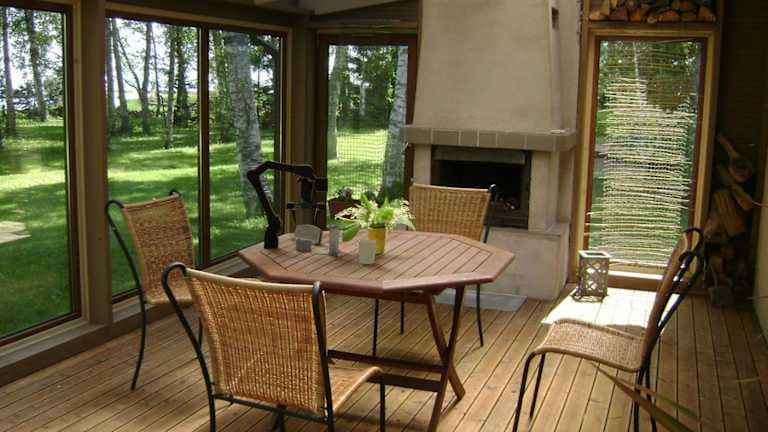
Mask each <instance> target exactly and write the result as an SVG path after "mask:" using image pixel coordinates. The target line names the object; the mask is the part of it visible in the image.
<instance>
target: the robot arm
mask: <svg viewBox="0 0 768 432" xmlns="http://www.w3.org/2000/svg"><path fill="white" fill-rule="evenodd" d="M267 170H273V171H274V170H275V171H280V172H286V173H292V174H295V175H298V176H299V177H298V178H297V179H296V182H297V183H299V184H300V185H299V187H300V189H299V203H295V202H294V201H286V202H285V209H286V210H288V211H289V212H291V215H292V217H293V221H294V224H296V223H297V218H296V208H301V209H303V210H305V209H307V210H311V209H315V213H314V219H313V223H314V225H316V223H317V219H318V217H319V215H320V213H321V212H322V213H323V212H324V211H326V210H327V208H326V203H325V202H317V201H316V200H317V199H316V198H315V197H314V198H313V190H315V192H316V193H318V192H319V193H321V192H322V193H328V191H329V185H328V182H329V179H328V177H317V176H316V175H315V173H314V169H313V166H312V165H310V164H304V163H303V164H292V163H285V162H280V161H275V160H270V159H266V160H265V161H264V162H263V163H260V164H259V165H257V166H256V167H251V168H250V169H248V171H247V173H246V179H247V180H248V182H249V183H250V185H251V186H252V187H253V188H254V190H255V193H256V196H257V197H258V199H259V201H260V204H261V206H262V209H263V210H264V213H265V215H266V220H267V226H266V227H265V229H264V234H263V249H278V247H279V240H280V239H279V236H278V232H280V231H281V229H282V224H283V220H282V219H281V217H280V216H281V215H280V213H277V214H276V213H275V211H274V209H273V207H272V204H271V203H270V200H269V198H268V196H267V193H266V191H265V189H264V186H263V181H262V177H261V176H262V174H263V173H265V172H267ZM309 179H310V180H309Z"/></svg>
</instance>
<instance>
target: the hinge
mask: <svg viewBox="0 0 768 432" xmlns="http://www.w3.org/2000/svg"><path fill="white" fill-rule="evenodd" d="M323 235H324V231H323V230H322V229H321V228H319V227H317V226H315V225H311V224H304V223H303V224H299V225H297V226H296V228H295V231H294V233H293V235H292V236H291V238H290V242H294V243H296V239H298V238H300V239H311V246H313V247H315V246H316V245H322V244H323V243H322V241H323V238H324V237H323Z"/></svg>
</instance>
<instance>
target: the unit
mask: <svg viewBox="0 0 768 432" xmlns="http://www.w3.org/2000/svg"><path fill="white" fill-rule="evenodd" d="M311 250H312V245H311V239H300V238H298V239H296V242H295V251H301V252H304V251H306V252H308V251H309V252H311Z"/></svg>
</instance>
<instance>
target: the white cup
mask: <svg viewBox="0 0 768 432" xmlns="http://www.w3.org/2000/svg"><path fill="white" fill-rule="evenodd" d="M376 248H377V241H376V240H374V239H368V238H367V239H366V238H365V239H364V238H363V239H359V240H358V263H359V264H362V265H374V264H375V259H376V258H375V257H376V250H377V249H376Z"/></svg>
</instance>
